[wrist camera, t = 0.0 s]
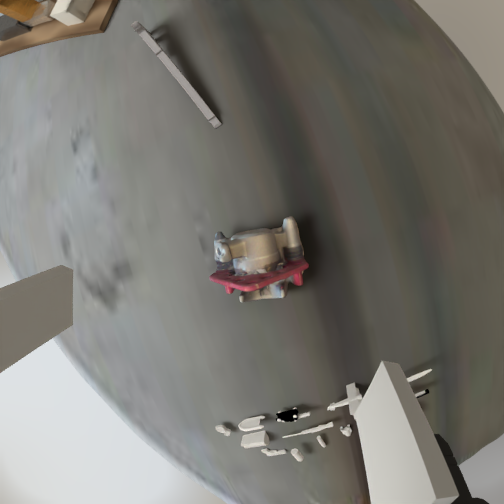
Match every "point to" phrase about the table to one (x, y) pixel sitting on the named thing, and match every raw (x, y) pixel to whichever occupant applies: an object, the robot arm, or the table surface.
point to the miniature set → (291, 415)
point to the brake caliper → (260, 261)
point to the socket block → (71, 11)
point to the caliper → (176, 73)
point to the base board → (62, 28)
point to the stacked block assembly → (27, 11)
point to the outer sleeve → (11, 28)
